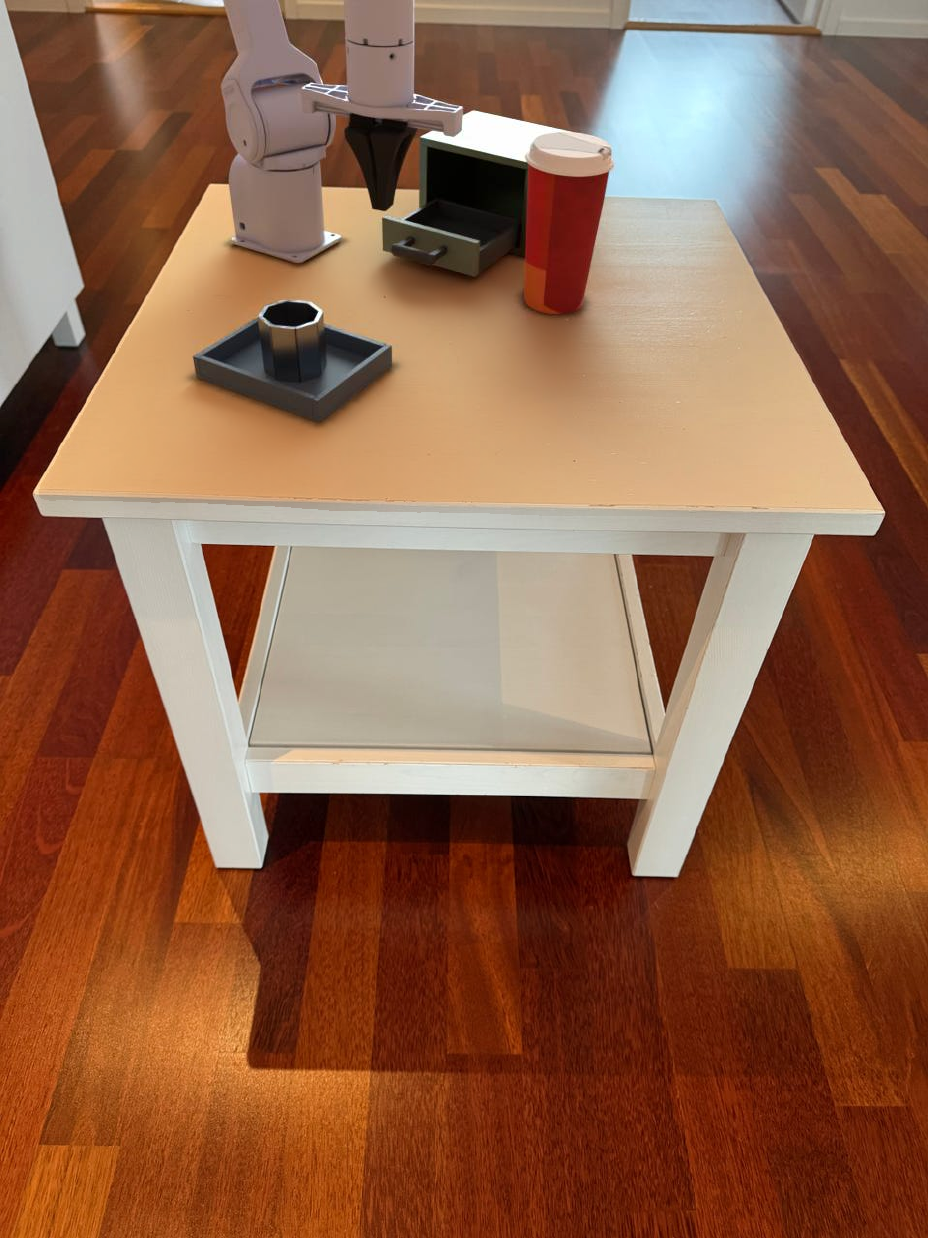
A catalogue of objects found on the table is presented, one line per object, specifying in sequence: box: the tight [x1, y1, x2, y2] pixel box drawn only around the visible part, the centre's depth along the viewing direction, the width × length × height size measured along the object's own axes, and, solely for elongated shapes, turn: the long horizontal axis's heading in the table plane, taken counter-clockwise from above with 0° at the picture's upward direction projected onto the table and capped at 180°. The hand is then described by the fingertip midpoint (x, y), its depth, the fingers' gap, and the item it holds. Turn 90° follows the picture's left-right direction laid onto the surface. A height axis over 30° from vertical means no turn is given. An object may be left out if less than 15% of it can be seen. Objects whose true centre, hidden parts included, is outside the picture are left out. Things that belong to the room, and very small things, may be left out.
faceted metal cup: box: [257, 299, 327, 383], centre depth 80 cm, size 5×5×5 cm
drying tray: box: [192, 316, 393, 423], centre depth 81 cm, size 13×11×2 cm
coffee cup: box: [523, 131, 615, 315], centre depth 89 cm, size 8×8×15 cm
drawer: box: [381, 198, 522, 277], centre depth 98 cm, size 11×15×4 cm
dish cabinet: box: [418, 110, 571, 258], centre depth 104 cm, size 14×12×10 cm
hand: (382, 206), depth 86 cm, fingers closed
